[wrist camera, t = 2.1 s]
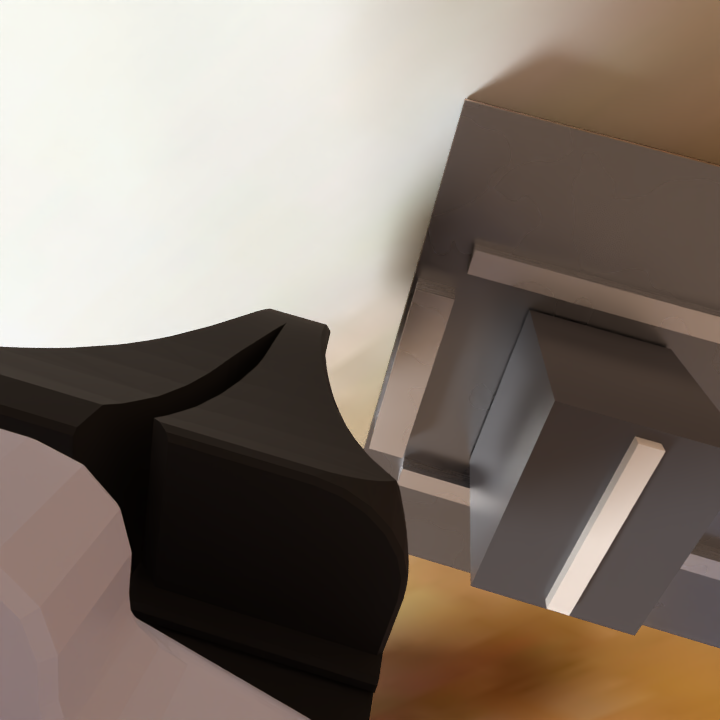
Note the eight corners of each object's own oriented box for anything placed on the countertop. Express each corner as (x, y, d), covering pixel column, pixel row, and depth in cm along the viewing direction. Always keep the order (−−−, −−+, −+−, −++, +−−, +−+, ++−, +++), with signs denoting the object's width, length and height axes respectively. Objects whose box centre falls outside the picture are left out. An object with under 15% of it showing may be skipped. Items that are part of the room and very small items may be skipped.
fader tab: (671, 349, 12) (761, 466, 8) (592, 496, 14) (637, 644, 10) (529, 310, 12) (556, 407, 8) (469, 460, 14) (471, 594, 10)
